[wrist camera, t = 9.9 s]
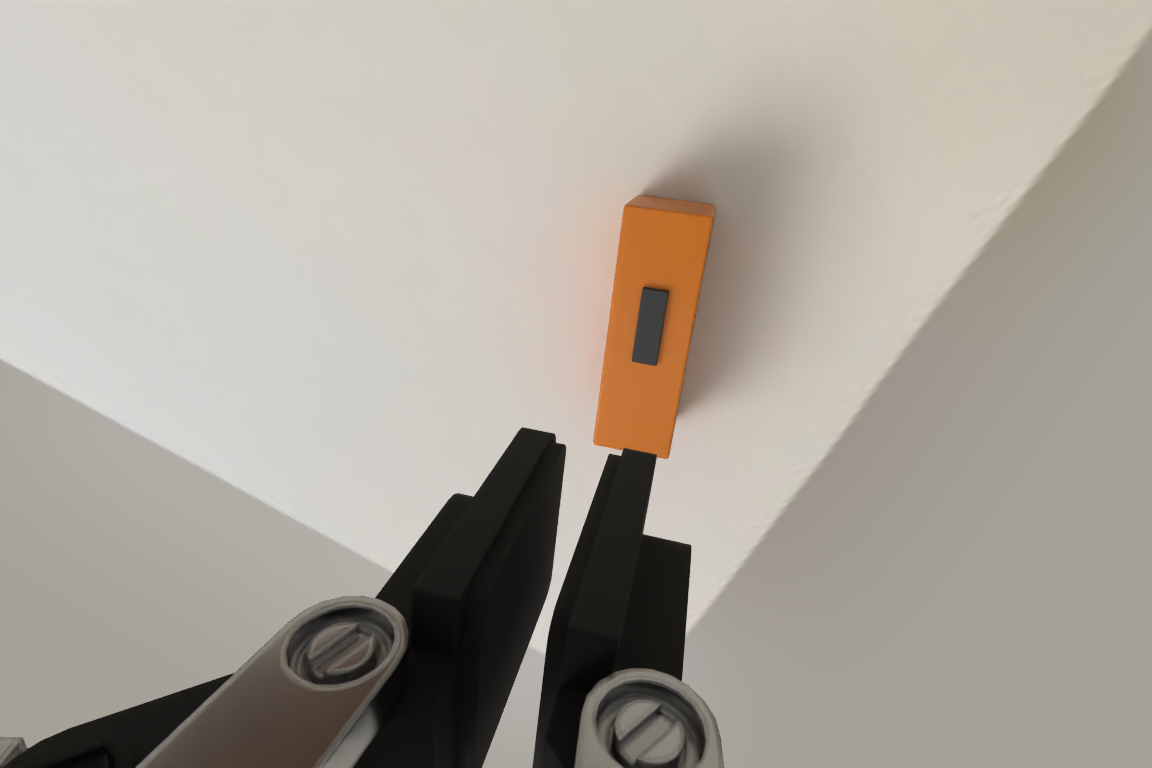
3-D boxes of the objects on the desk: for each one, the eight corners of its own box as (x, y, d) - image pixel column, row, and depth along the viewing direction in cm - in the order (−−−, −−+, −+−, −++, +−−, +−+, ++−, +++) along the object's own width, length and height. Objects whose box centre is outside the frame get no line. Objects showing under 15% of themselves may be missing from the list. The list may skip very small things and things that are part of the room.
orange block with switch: (637, 194, 21) (622, 204, 18) (715, 204, 20) (714, 217, 17) (606, 421, 24) (589, 463, 21) (672, 434, 24) (665, 478, 21)
